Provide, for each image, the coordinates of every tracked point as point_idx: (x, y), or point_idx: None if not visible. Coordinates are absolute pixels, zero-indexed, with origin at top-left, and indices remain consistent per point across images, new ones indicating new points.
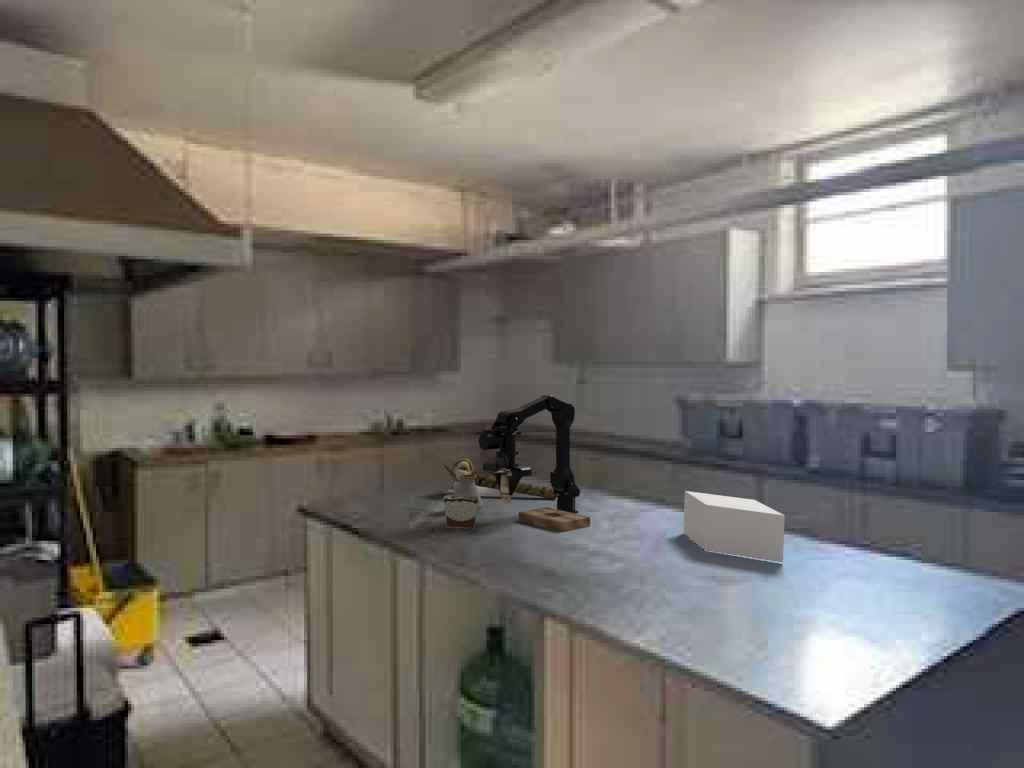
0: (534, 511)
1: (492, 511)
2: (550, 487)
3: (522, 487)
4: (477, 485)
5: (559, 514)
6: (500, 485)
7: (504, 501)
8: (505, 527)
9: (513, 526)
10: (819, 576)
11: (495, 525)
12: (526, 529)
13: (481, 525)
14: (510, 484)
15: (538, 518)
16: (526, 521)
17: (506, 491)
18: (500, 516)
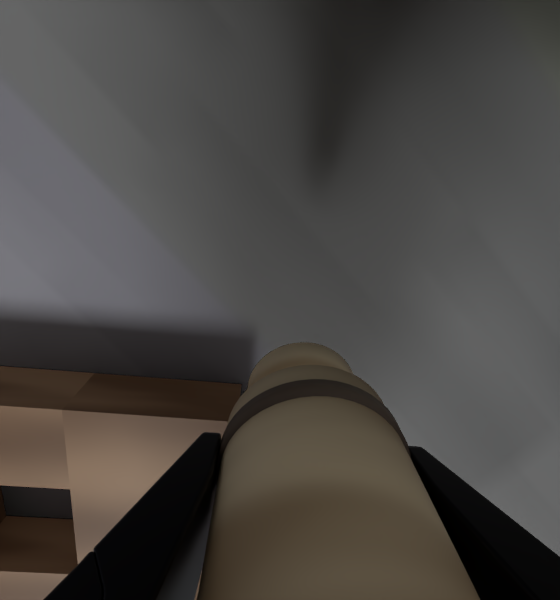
0: None
1: (539, 457)
2: None
3: None
4: None
5: (26, 566)
6: (474, 550)
7: (282, 352)
8: (155, 166)
9: (142, 239)
10: None
11: (255, 159)
12: (10, 237)
13: (335, 64)
14: (72, 595)
15: (11, 399)
16: (160, 384)
17: (247, 441)
18: (415, 396)
